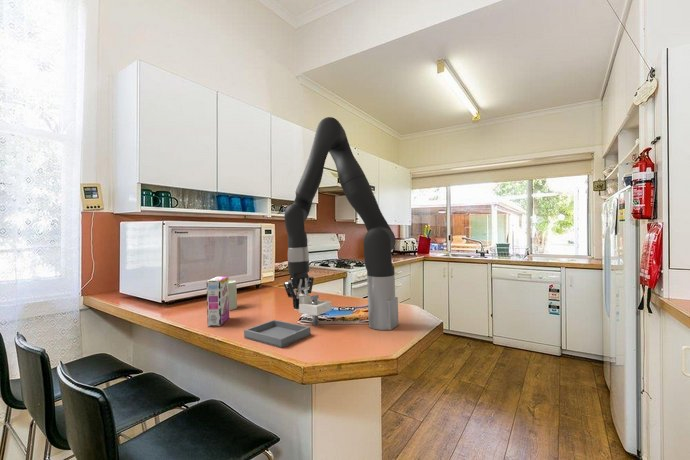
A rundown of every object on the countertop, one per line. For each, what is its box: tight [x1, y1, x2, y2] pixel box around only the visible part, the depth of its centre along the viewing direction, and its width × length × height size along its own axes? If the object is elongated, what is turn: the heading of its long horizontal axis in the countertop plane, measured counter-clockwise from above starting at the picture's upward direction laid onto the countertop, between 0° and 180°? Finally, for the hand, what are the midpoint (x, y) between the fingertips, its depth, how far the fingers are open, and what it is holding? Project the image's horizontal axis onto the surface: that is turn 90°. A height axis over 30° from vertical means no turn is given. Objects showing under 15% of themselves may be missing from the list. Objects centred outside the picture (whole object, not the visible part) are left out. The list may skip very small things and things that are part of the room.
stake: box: [310, 294, 320, 326], centre depth 110 cm, size 2×3×10 cm, turn 145°
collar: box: [293, 293, 333, 317], centre depth 111 cm, size 12×8×5 cm, turn 56°
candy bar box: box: [206, 275, 230, 328], centre depth 117 cm, size 11×5×16 cm, turn 5°
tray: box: [243, 319, 312, 349], centre depth 99 cm, size 17×13×2 cm
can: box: [229, 279, 238, 311], centre depth 138 cm, size 9×9×12 cm
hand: (300, 307), depth 113 cm, fingers closed on collar, 3 cm apart
